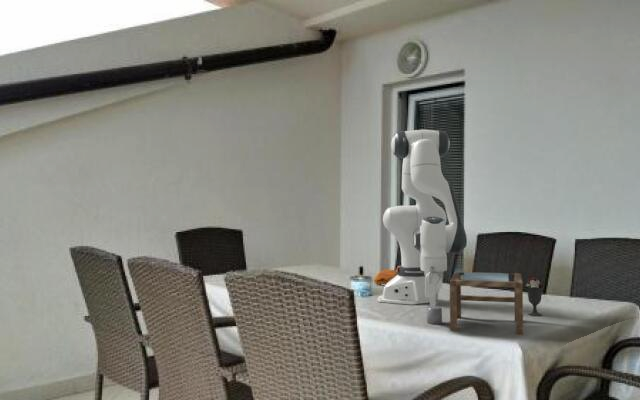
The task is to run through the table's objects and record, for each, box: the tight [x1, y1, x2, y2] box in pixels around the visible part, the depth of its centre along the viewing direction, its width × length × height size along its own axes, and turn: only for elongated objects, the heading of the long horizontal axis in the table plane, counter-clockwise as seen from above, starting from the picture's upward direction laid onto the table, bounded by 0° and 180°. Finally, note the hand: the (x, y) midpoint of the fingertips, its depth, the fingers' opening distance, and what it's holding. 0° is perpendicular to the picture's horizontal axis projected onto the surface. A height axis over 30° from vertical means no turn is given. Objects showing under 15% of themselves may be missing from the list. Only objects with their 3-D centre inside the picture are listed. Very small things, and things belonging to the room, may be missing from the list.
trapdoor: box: [462, 271, 510, 281], centre depth 197 cm, size 14×18×2 cm
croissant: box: [373, 269, 398, 285], centre depth 289 cm, size 14×16×8 cm
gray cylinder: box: [426, 306, 443, 325], centre depth 201 cm, size 5×5×5 cm
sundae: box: [524, 272, 545, 317], centre depth 212 cm, size 7×7×15 cm
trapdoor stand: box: [449, 271, 524, 335], centre depth 196 cm, size 22×22×16 cm
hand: (433, 305), depth 201 cm, fingers open, 4 cm apart
